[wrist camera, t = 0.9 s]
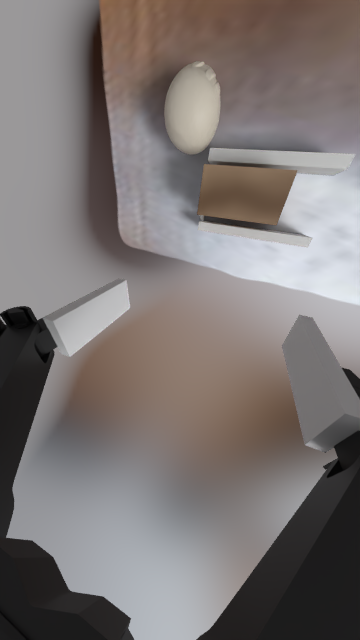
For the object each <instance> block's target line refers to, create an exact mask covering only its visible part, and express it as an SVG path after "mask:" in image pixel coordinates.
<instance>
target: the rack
mask: <svg viewBox="0 0 360 640" xmlns="http://www.w3.org/2000/svg"><path fill="white" fill-rule="evenodd" d="M354 156H355V154H339V153H317V152H294V151H271V150H248V149H226V148H210V151H209V157H208V161H209V163H210V164H211V165H227V166H242V167H257V168H272V169H287V170H297V173H301V174H315V175H330V176H334V175H336V174H338V173H340V172H343V171H345V170H347V169H348V168H349V166H350V164H351V162H352V160H353V158H354ZM204 217H205V216H204V215H200V220H204ZM198 230H200V231H206V232H212V233H219V234H225V235H231V236H238V237H244V238H250V239H257V240H263V241H270V242H276V243H282V244H289V245H295V246H301V247H308V246H309V244H310V242H311V240H312V238H311V237H308V236H306V235H300V234H294V233H287V232H280V231H273V230H266V229H259V228H252V227H245V226H238V225H231V224H224V223H217V222H210V221H200V222H199V226H198Z"/></svg>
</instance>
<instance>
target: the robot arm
mask: <svg viewBox="0 0 360 640" xmlns="http://www.w3.org/2000/svg"><path fill="white" fill-rule="evenodd" d="M128 309H130V303H129V295H128V288H127V281H126V280H124V279H117V280H115V281H113V282H111V283H109V284H107V285H105V286H103V287H102V288H99V289H98V290H96V291H94V292H92V293H90V294H88V295H86V296H84V297H82V298H80V299H78V300H76V301H74V302H72V303H70V304H68V305H67V306H65V307H63V308H61V309H59V310H57V311H55V312H53V313H51V314H49V315H47V316H45V317H43V318H41V319H39V320H37V319H36V317H35V316H34V314H33V312H32V310H31V308H29V307H26V306H20V307H14V308H11V309H8V310H6V311H3V312H2V313H1V314H0V316H1V317H2V319H3V320H4V321H5V323H6V324H7V325H4V323H3V322H2V320H1V319H0V640H134V638H133V636H132V635H131V633H130V631H129V629H128V627H129V623H130V620H131V618H130V617H128V616H127V615H126V614H125V613H123V612H122V611H121V610H119V609H118V608H117V607H116V606H114V605H113V604H112V603H111V602H109V601H108V600H107V599H105V598H104V597H102V596H96V595H89V594H82V593H76V592H72V591H70V590H69V589H68V587H67V585H66V583H65V581H64V579H63V577H62V574H61V572H60V570H59V568H58V566H57V564H56V562H55V560H54V558H53V557H52V556H51V555H50V554H49V553H47V552H46V551H45V550H43V549H42V548H41V547H40V546H38V545H37V544H36V543H34V542H33V541H30V540H21V539H12V538H6V535H7V532H8V529H9V525H10V521H11V518H12V514H13V510H14V497H13V492H12V487H13V482H14V479H15V476H16V473H17V469H18V466H19V463H20V460H21V457H22V454H23V451H24V448H25V445H26V442H27V438H28V435H29V432H30V429H31V426H32V423H33V420H34V416H35V413H36V410H37V407H38V404H39V401H40V398H41V394H42V392H43V389H44V385H45V382H46V379H47V376H48V373H49V369H50V367H51V364H52V360H53V357H54V351H53V349H55V348H56V347H58V349H59V351H60V353H61V354H64V355H66V356H69V357H71V356H72V355H73V354H74V353H75V352H77V351H78V350H79V349H80V348H81V347H83V346H84V345H85V344H87V343H88V342H89V341H90V340H91V339H93V338H94V337H95V336H96V335H98V334H99V333H100V332H101V331H103V330H104V329H105V328H106V327H107V326H109V325H110V324H111V323H112V322H114V321H115V320H116V319H117V318H118V317H120V316H121V315H122V314H123V313H125V312H126V311H127V310H128ZM282 348H283V353H284V357H285V361H286V365H287V370H288V374H289V378H290V383H291V387H292V391H293V396H294V400H295V404H296V408H297V413H298V417H299V421H300V426H301V430H302V434H303V439H304V443H305V445H306V446H309V447H312V448H315V449H317V450H320V451H322V452H325V453H326V452H327V451H329V450H330V449H332V448H335V451H336V453H337V456H338V458H337V459H335V460H334V461H332V462H330V463H328V464H327V465H325V466H323V467H324V468H325V469H327V470H326V471H325V473H324V474H323V476H322V477H321V478H320V480H319V481H318V482H317V484H316V485H315V486H314V488H313V489H312V491H311V492H310V493H309V495H308V496H307V498H306V499H305V500H304V502H303V503H302V504H301V506H300V507H299V509H298V510H297V511H296V513H295V514H294V515H293V517H292V518H291V520H290V521H289V522H288V524H287V525H286V526H285V528H284V529H283V530H282V532H281V533H280V535H279V536H278V537H277V539H276V540H275V541H274V543H273V544H272V545H271V547H270V548H269V550H268V551H267V552H266V554H265V555H264V557H263V558H262V559H261V561H260V562H259V563H258V565H257V566H256V567H255V569H254V570H253V572H252V573H251V574H250V576H249V577H248V578H247V580H246V581H245V583H244V584H243V585H242V587H241V588H240V590H239V591H238V592H237V594H236V595H235V596H234V598H233V599H232V600H231V602H230V603H229V605H228V606H227V607H226V609H225V610H224V611H223V613H222V614H221V615H220V617H219V618H218V620H217V621H216V622H215V623H214V625H213V626H212V627H211V628H210V629H209V630H208V631H207V632H205V633H204V634H203V635H201V636H200V637H199V638H198V639H197V640H360V379H359V378H358V377H357V376H356V375H355V374H354V373H353V372H352V371H351V370H349V369H344V368H341V366H340V364H339V363H338V361H337V359H336V357H335V356H334V354H333V352H332V351H331V349H330V347H329V345H328V344H327V342H326V340H325V338H324V337H323V335H322V333H321V331H320V330H319V328H318V326H317V325H316V323H315V321H314V319H313V318H311V317H307V316H302V315H299V316H298V318H297V320H296V322H295V323H294V325H293V327H292V329H291V330H290V332H289V334H288V336H287V338H286V339H285V341H284V343H283V345H282Z"/></svg>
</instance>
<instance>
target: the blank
mask: <svg viewBox="0 0 360 640" xmlns="http://www.w3.org/2000/svg"><path fill="white" fill-rule="evenodd" d="M296 173H297V170H287V169H272V168H257V167H242V166H227V165H211V164H204V168H203V175H202V182H201V190H200V197H199V204H198V211H197V215H204V216H211V217H219V218H226V219H233V220H241V221H248V222H255V223H263V224H270V225H277V223H278V220H279V217H280V215H281V212H282V210H283V207H284V204H285V202H286V199H287V197H288V194H289V191H290V189H291V186H292V184H293V181H294V178H295V176H296Z"/></svg>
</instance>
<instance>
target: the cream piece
mask: <svg viewBox="0 0 360 640" xmlns="http://www.w3.org/2000/svg"><path fill="white" fill-rule="evenodd" d="M215 77H216V75H215V73H214V71H213V69H212V68H211V67H210V66H208V65H206V64H204V62H199V61H195V62H194V63H193V64H188V65H187V66H185V67H184V68H183V69H181V70H180V72H179V73H178V74H177V75H176V76H175V78H174V79H173V81H172V83H171V85H170V87H169V90H168V92H167V96H166V100H165V108H164V118H165V126H166V130H167V133H168V136H169V138H170V140H171V141H172V143H173V144H174V145H175V147H176V148H178V149H179V150H180V151H181V152H183V153H186V154H188V155H195V154H198V153H200V152H202V151H203V150H205V149H206V148H207V146H208V145H209V143H210V142H211V140H212V138H213V136H214V134H215V132H216V129H217V126H218V122H219V117H220V86H219V83H218V82H217V80H216V78H215Z"/></svg>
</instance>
